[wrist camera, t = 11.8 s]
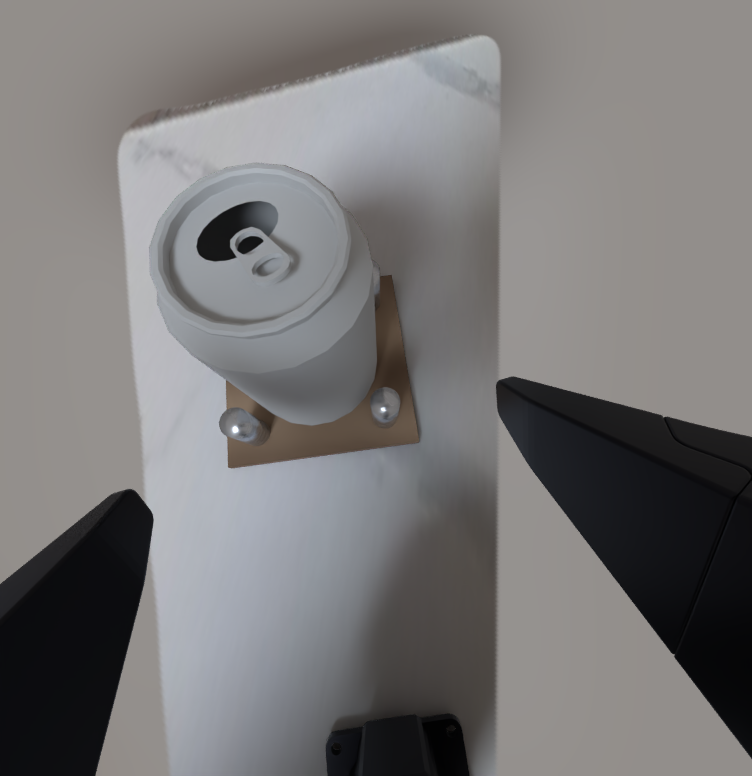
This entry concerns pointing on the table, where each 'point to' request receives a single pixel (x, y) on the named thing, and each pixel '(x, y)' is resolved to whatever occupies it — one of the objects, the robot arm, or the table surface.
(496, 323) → the table surface
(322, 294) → the can
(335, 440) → the standoff plate
